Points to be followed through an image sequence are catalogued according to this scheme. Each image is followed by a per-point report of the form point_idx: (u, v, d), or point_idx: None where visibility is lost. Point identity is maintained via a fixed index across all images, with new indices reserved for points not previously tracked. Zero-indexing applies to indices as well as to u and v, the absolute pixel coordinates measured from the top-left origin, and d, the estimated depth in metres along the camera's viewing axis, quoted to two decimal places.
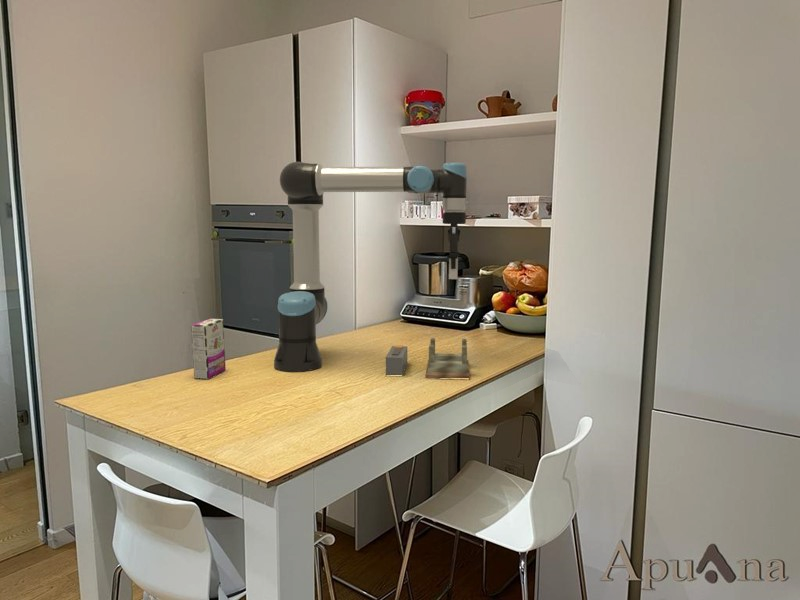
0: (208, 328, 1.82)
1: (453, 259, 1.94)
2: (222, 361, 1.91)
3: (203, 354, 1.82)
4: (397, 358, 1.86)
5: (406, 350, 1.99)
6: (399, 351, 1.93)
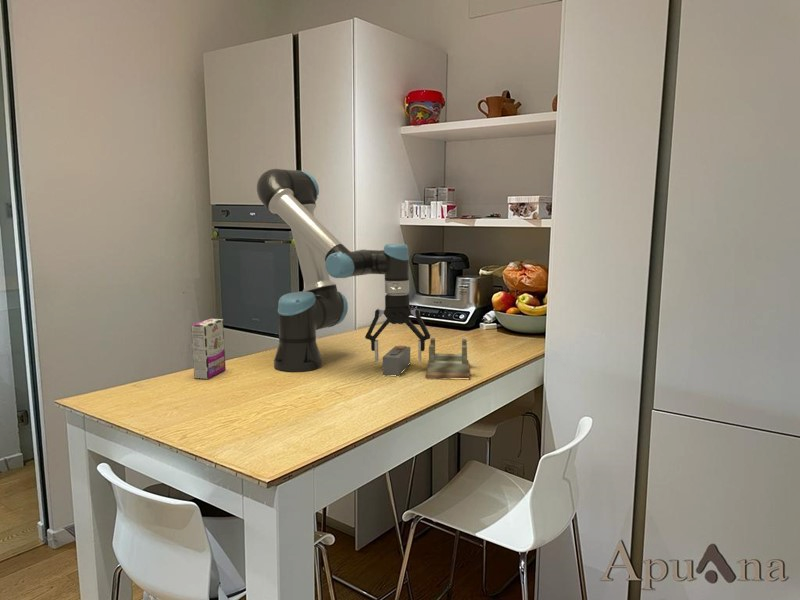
0: (208, 328, 1.82)
1: (371, 341, 1.94)
2: (222, 361, 1.91)
3: (203, 354, 1.82)
4: (394, 358, 1.86)
5: (408, 350, 1.98)
6: (399, 351, 1.93)
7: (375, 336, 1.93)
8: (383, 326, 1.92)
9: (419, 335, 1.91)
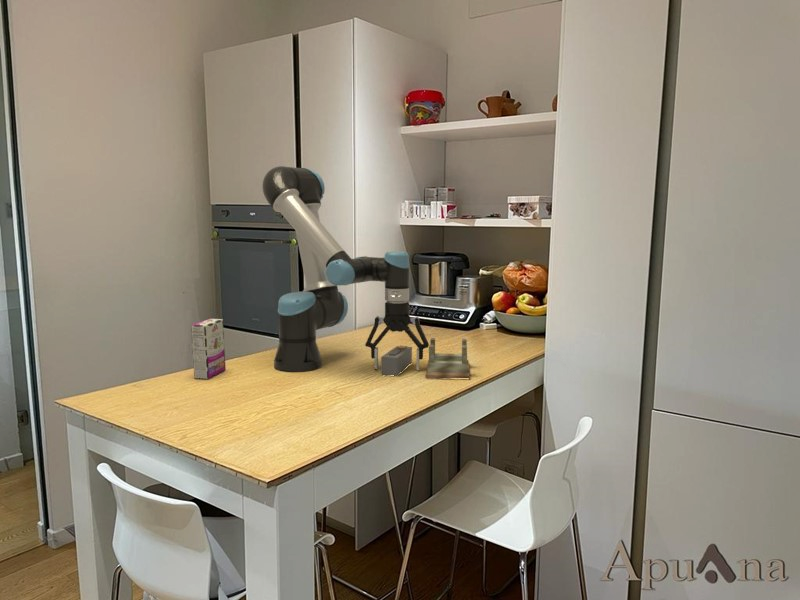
0: (208, 328, 1.82)
1: (371, 348, 1.95)
2: (222, 361, 1.91)
3: (203, 354, 1.82)
4: (392, 358, 1.86)
5: (409, 350, 1.98)
6: (398, 351, 1.93)
7: (375, 344, 1.93)
8: (383, 334, 1.93)
9: (418, 343, 1.92)
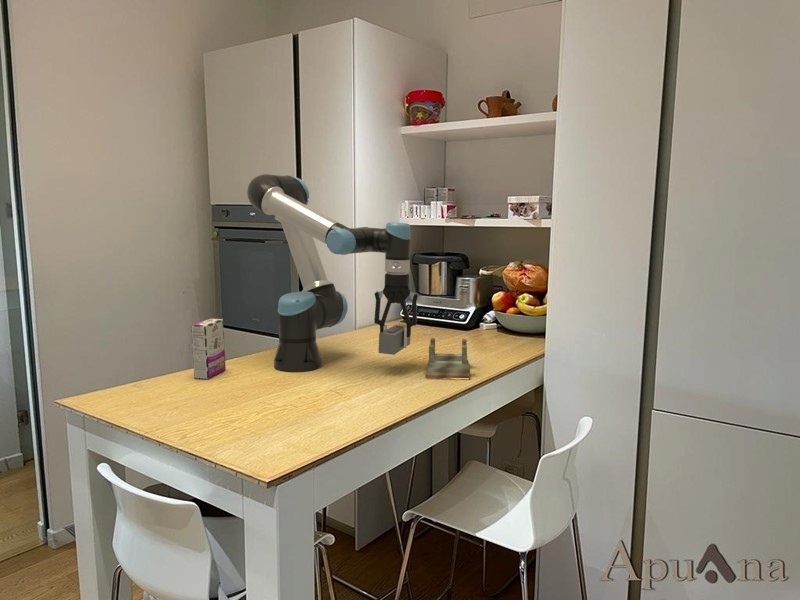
0: (208, 328, 1.82)
1: (380, 325, 1.94)
2: (222, 361, 1.91)
3: (203, 354, 1.82)
4: (390, 335, 1.86)
5: None
6: (397, 329, 1.92)
7: (383, 320, 1.92)
8: (387, 308, 1.91)
9: (407, 320, 1.91)
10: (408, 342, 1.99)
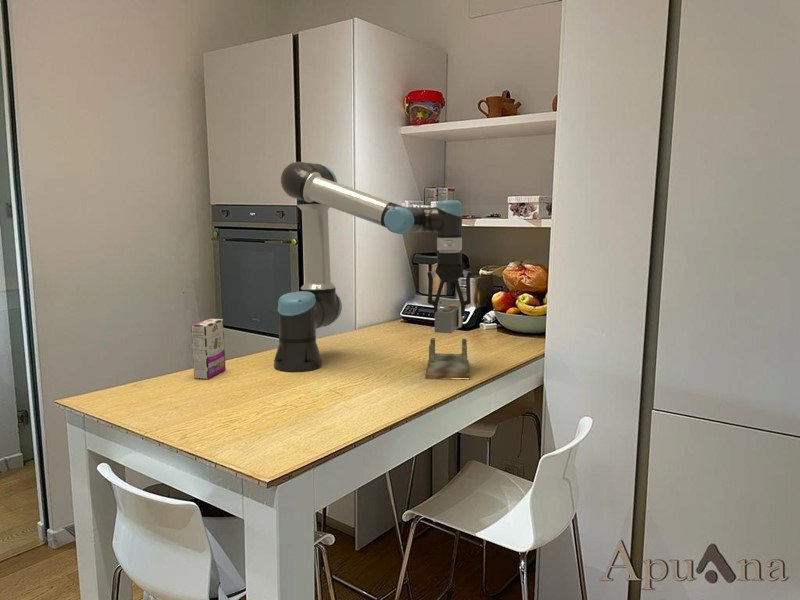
0: (208, 328, 1.82)
1: None
2: (222, 361, 1.91)
3: (203, 354, 1.82)
4: (446, 313, 1.83)
5: None
6: (451, 308, 1.89)
7: (437, 300, 1.89)
8: (440, 287, 1.89)
9: (461, 299, 1.89)
10: (461, 322, 1.96)
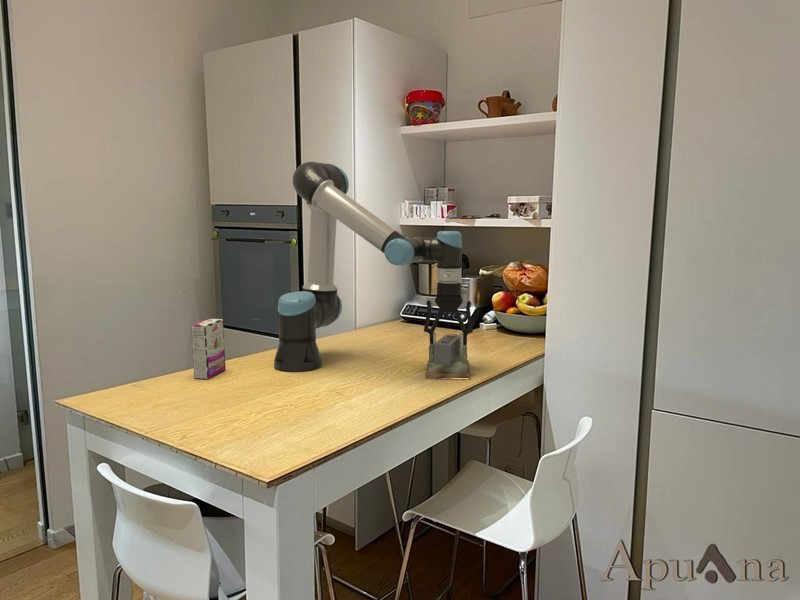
0: (208, 328, 1.82)
1: None
2: (222, 361, 1.91)
3: (203, 354, 1.82)
4: (445, 345, 1.84)
5: (459, 339, 1.96)
6: (450, 339, 1.91)
7: (433, 328, 1.91)
8: (438, 316, 1.90)
9: (463, 328, 1.90)
10: (459, 351, 1.98)
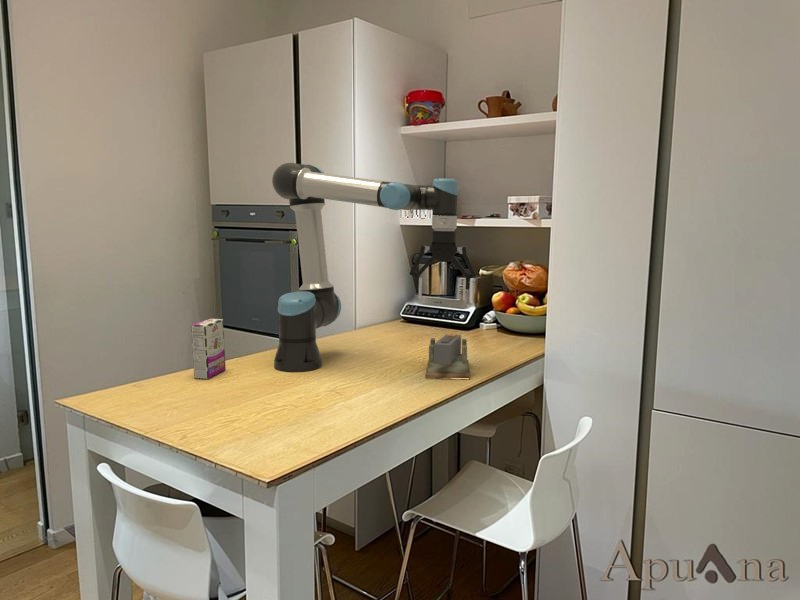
0: (208, 328, 1.82)
1: (415, 277, 1.92)
2: (222, 361, 1.91)
3: (203, 354, 1.82)
4: (445, 345, 1.84)
5: (459, 339, 1.96)
6: (450, 339, 1.91)
7: (420, 272, 1.90)
8: (428, 262, 1.89)
9: (465, 273, 1.89)
10: (459, 351, 1.98)
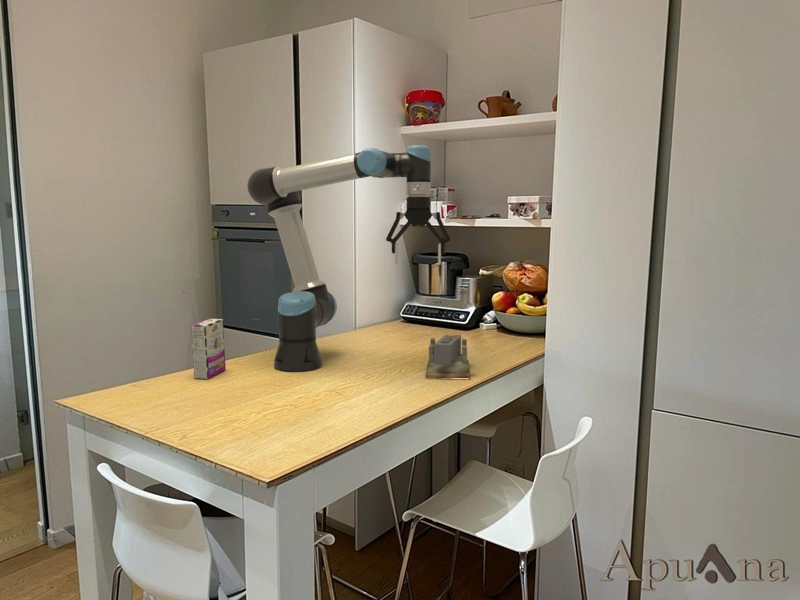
0: (208, 328, 1.82)
1: None
2: (222, 361, 1.91)
3: (203, 354, 1.82)
4: (445, 345, 1.84)
5: (459, 339, 1.96)
6: (450, 339, 1.91)
7: (396, 238, 1.95)
8: (404, 228, 1.94)
9: (439, 237, 1.94)
10: (459, 351, 1.98)
